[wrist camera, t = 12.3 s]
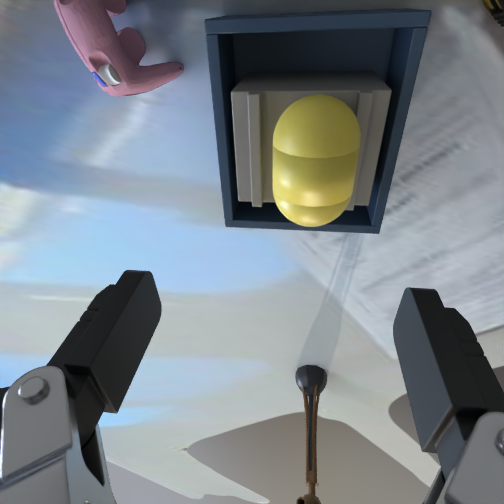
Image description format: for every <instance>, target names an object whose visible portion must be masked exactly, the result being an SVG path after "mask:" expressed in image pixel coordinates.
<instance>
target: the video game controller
mask: <svg viewBox="0 0 504 504" xmlns="http://www.w3.org/2000/svg"><path fill="white" fill-rule="evenodd" d="M53 2H54V5H55V8H56V11H57V14H58V16H59V18H60V21H61V23H62V25H63V28H64V30H65V32H66V34H67V36H68V38H69V39H70V41H71V43H72V45H73V47H74V48H75V50H76V52H77V53H78V55H79V56H80V58H81V59H82V61H83V62H84V63H85V65H86V66H87V67H88V69H89V70H90V71H91V72H92V73H93V75H94V77H95V80H96V82H97V83H98V85H99V86H100V87H101V88H102V89H103V90H104V91H105V92H106V93H108V94H109V95H112V96H116V97H120V96H129V95H136V94H141V93H145V92H148V91H151V90H153V89H155V88H158V87H160V86H162V85H164V84H166V83H167V82H169V81H171V80H173V79H175V78H177V77H178V76H179V75H180V74H181V73H182V72H183V70H184V65H183V64H181V63H179V62H167V63H162V64H156V65H151V66H139V63H140V61H141V59H142V58H143V56H144V54H145V44H144V41H143V39H142V37H141V36H140V34H139V33H138V32H137V31H136V30H135V29H133V28H130V27H128V28H125V29H122V30H120V31H118V32H116V30H115V28H114V25H113V23H112V20H111V18H110V17H114V16H116V15H119V14H121V13H123V12H124V11H125V8H126V0H53Z"/></svg>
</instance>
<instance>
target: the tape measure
mask: <svg viewBox="0 0 504 504" xmlns="http://www.w3.org/2000/svg"><path fill="white" fill-rule="evenodd" d="M482 1H483V4H484V5H485V7H486V8H487V9H488V11H489V12H490V13H491V15H492V16H494V19H495V20H497V22H498V24H501V26H502V27H504V0H482Z"/></svg>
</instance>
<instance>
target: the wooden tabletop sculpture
mask: <svg viewBox="0 0 504 504" xmlns="http://www.w3.org/2000/svg"><path fill="white" fill-rule="evenodd" d="M296 382H297V385H298V387H299V389H300V390H301V391H302V392H303V398H304V407H305V422H306V483H305V484H306V486H308V491H309V493H308V494H306V495H304V497H299V498H298V499H297V504H321V503H320V500H319V498H318V497H316V496H315V487H318V486H319V485H318V483H317V463H316V462H317V459H316V431H317V428H316V427H317V412H318V403H319V396H320V393H321V392H322V391H323V390H324V388H325V386H326V384H327V374H326V372H325V370H324V369H322V368H320V367H318V366H312V365H305V366H303V367H300V368H298V370H297V372H296ZM307 396H309V406H308V397H307ZM316 396H317V400H316Z"/></svg>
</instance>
